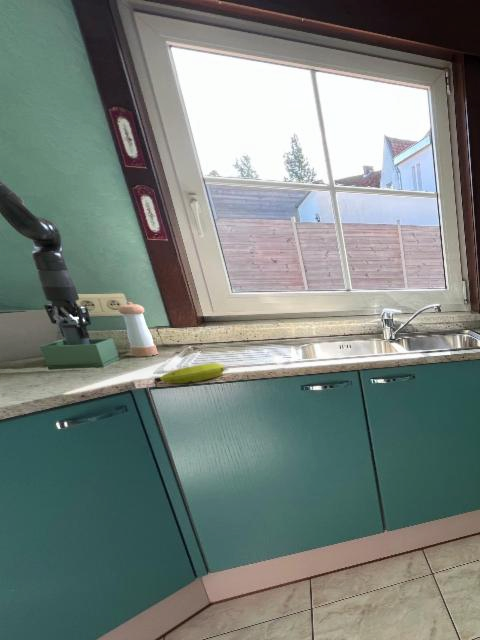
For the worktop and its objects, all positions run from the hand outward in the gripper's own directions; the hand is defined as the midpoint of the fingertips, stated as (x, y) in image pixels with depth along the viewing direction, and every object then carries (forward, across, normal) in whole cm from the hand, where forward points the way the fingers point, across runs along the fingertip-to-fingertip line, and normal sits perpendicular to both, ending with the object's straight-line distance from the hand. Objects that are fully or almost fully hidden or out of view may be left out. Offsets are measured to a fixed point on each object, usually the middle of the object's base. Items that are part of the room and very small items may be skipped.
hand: (76, 337), depth 163 cm
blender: (+9, 0, 0) cm, 9 cm away
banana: (+9, +48, -6) cm, 49 cm away
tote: (+9, 0, 0) cm, 9 cm away
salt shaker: (+9, +2, +18) cm, 21 cm away
